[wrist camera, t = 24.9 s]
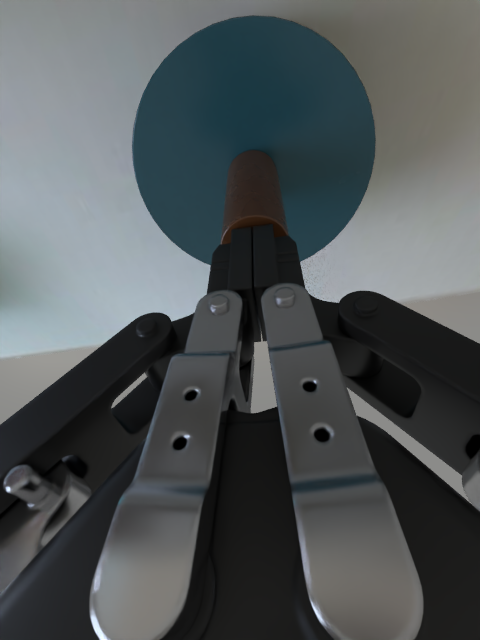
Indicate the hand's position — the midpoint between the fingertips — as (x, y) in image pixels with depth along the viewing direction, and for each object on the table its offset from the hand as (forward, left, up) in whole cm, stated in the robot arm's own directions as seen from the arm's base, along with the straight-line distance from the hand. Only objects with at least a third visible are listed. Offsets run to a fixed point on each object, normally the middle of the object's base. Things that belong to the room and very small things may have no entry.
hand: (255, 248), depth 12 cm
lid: (0, 0, -8) cm, 8 cm away
